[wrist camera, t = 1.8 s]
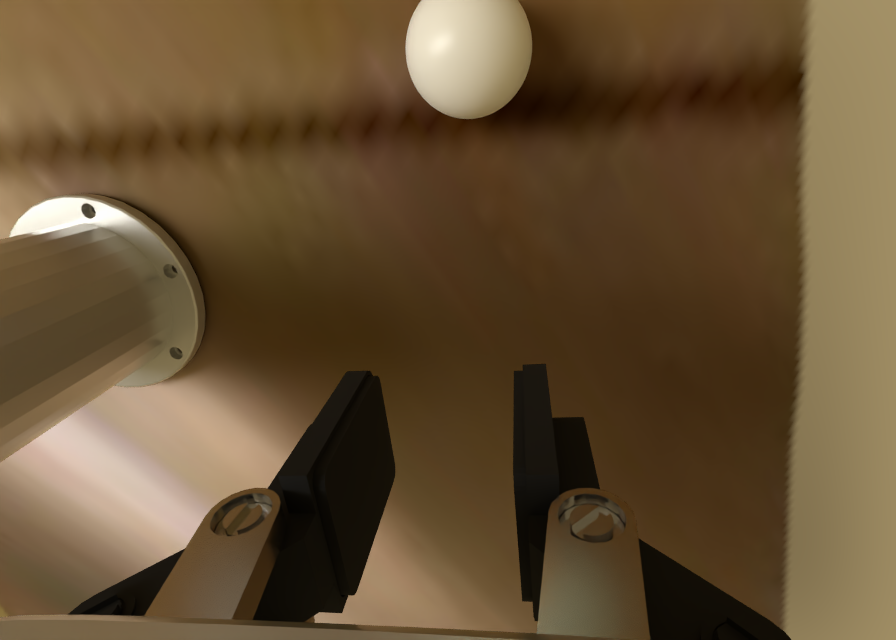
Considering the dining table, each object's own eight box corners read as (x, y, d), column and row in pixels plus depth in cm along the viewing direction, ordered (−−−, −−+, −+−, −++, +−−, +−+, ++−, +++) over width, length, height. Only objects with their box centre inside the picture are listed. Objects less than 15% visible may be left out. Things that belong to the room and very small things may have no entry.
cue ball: (442, 135, 26) (424, 140, 21) (400, 22, 24) (370, -3, 19) (545, 92, 25) (552, 87, 20) (509, -30, 23) (507, -71, 18)
